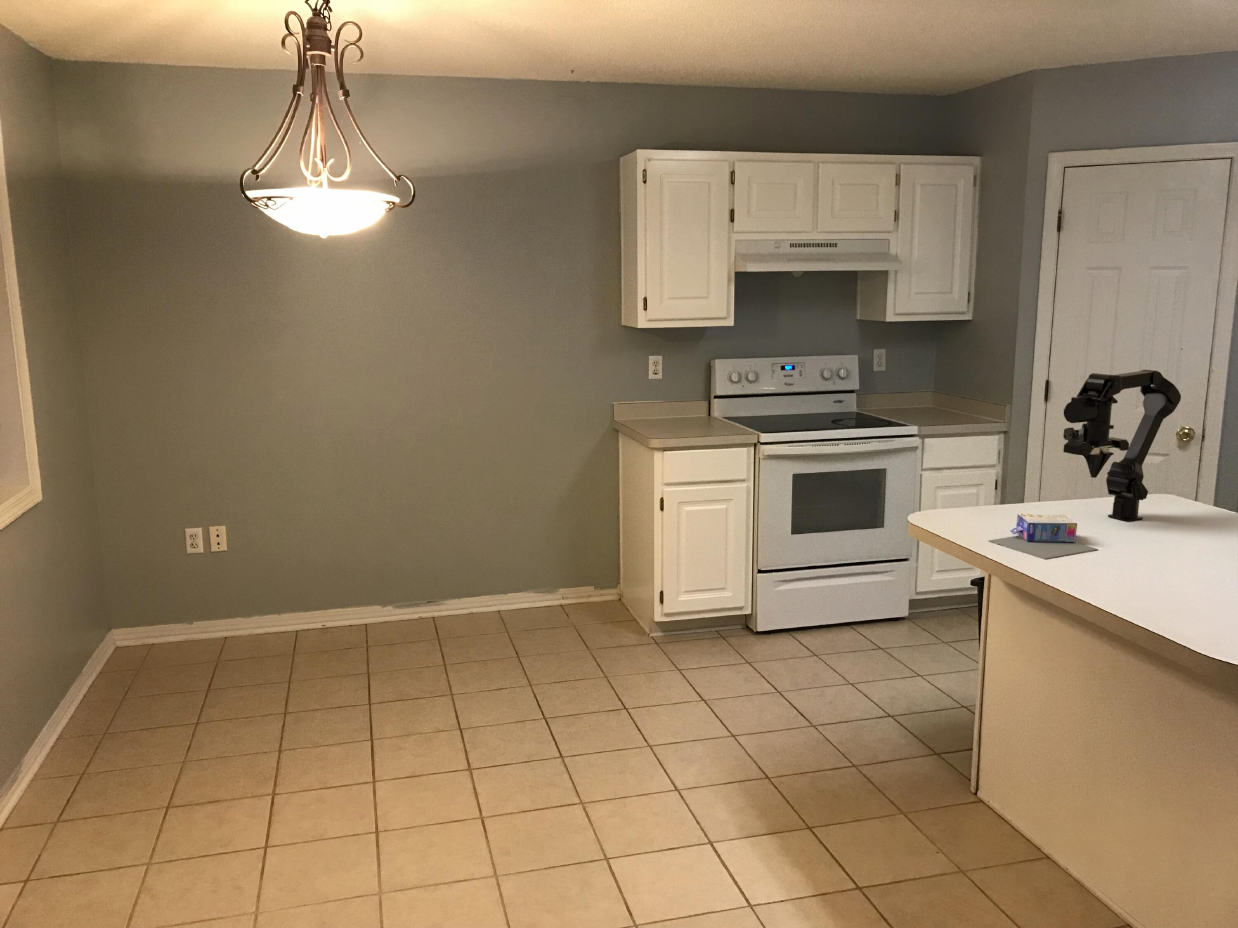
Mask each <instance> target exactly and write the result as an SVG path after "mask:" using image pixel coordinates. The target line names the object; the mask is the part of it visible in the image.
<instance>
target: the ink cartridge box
mask: <svg viewBox="0 0 1238 928" xmlns="http://www.w3.org/2000/svg"><path fill="white" fill-rule="evenodd" d="M1016 517H1017V518H1016V526H1015V527H1014V528H1012V529H1011V530H1009V532H1010V533H1012V535H1015V534H1018V536H1019V535H1020V536H1021V537H1023V538H1024V539H1025V540H1026V541H1037V542H1075V543H1076V537H1077V529H1078V523H1077V522H1076V521H1075V520H1073V518H1070V517H1069V516H1068V515H1066V514H1052V513H1051V514H1046V513H1043V514H1042V513H1017V516H1016Z"/></svg>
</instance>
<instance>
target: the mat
mask: <svg viewBox="0 0 1238 928" xmlns="http://www.w3.org/2000/svg"><path fill="white" fill-rule="evenodd" d="M988 542H989V543H992V542H993V543H992V544H995V543H996V545H998V544H1000V545H999V546H1001V545H1002V546H1001V547H1004V546H1006V547H1005V548H1008V549H1011V550H1015V551H1017V552H1020V551H1021V553H1024V554H1026V553H1027V554H1026V555H1030V556H1033V557H1037V558H1040V559H1043V560H1049V559H1050V560H1051V559H1055V558H1060V557H1066V556H1067V557H1068V556H1073V555H1078V554H1083V553H1089V552H1096V551H1098V550H1099V549H1098V548H1097V547H1093V546H1089V545H1085V544H1081V543H1078V542H1076V541H1075V542H1037V541H1026V540H1025V539H1024V538H1023V537H1021V536H1020V535H1019V534H1018V535H1014V536H1008V537H1001V538H995V539H989V540H988Z"/></svg>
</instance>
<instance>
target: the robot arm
mask: <svg viewBox="0 0 1238 928" xmlns="http://www.w3.org/2000/svg"><path fill="white" fill-rule="evenodd" d="M1139 387H1140V389H1139V390H1140V393H1141V395H1142V396H1143V397H1144V398H1143V401H1142V407H1143V410H1144V413H1143V416H1142V418H1141V420H1140V422H1139V424H1138V426H1137V427H1136V430H1135V432H1134V435H1133V437H1132V439H1131V442H1130V443H1129V441H1128V440H1127V438H1126V439H1125V438H1118V437H1114V436H1111V437H1110V432H1111V431H1110V430H1114V429H1115V426H1114V424H1111V418H1112V407H1113V404H1115V405H1116V404H1118V400H1117V399H1116V398H1115V395H1118V394H1120V393H1121V392H1122V391H1123V390H1127V389H1128V390H1129V389H1134V388H1139ZM1070 399H1071V400H1070V401H1069V402H1068V403H1067V404H1066V405H1065V407H1064V408H1063V417H1064V418H1065V420H1066V422H1068V423H1070V424H1078V423H1079V424H1080V423H1082V425H1081V428H1080V429H1075V428H1074V427H1065V428H1064V429H1063V434H1062V436H1063V439H1064V440H1065V441H1066V442H1065V443H1064V444H1063V453H1066V454H1071V455H1076V456H1083V457H1084V459H1085V462H1086V464H1087V467H1088V472H1089V474H1090V478H1092V479H1093V478H1094V479H1095V478H1097V477H1098V475H1099V474H1100V472H1101V471H1102V469H1103V468H1104V466H1105V465H1106V463H1107V462H1108V461H1109V459H1110V458H1111V457H1112V456H1114V454H1115V453H1114V452H1111V451H1110V449H1113V448H1115V449H1118V450H1119V451H1122V452H1123V451H1126V452H1125V454H1124V457H1123V458H1122V459H1121V460H1120V461H1119V462H1117V461H1113V462H1112V463H1111V465H1110V468H1109V470H1108V472H1107V473H1106V475H1107V476H1106V478H1105V481H1106V483H1105V484H1106V488H1107V493H1108V495H1110V496H1114V498H1113V503H1112V513H1111V514H1107V518H1108V517H1109V518H1113V519H1117V520H1120V521H1124V522H1132V521H1138V520H1143V518H1144V517H1143V516H1139V508H1140V501H1144V500H1146V499H1147V497H1148V494H1149V490H1148V489H1147V487H1146V486H1145V485H1144V483H1143V480H1144V476H1145V475H1144V470H1143V464H1144V462H1145V461H1146V458H1147V456H1148V453H1149V451H1150V449H1151V447H1152V445H1153V443H1154V440H1155V438H1156V436H1157V434H1158V432H1159V430H1160V427H1161V425H1162V424H1163V422H1164V420H1165V419H1166V418H1167V417H1169V416H1170V415H1172V414H1173V413H1174V412H1175V410H1176V409H1177V407H1178V406H1179V404H1180V402H1181V401H1182V396H1181V393H1180V391H1179V388H1177V386H1176V385H1175V384H1174V383H1172V382H1171V381H1170V380H1169V379H1167V378H1165V377H1164V376H1163V374H1162V373H1161V371H1158V370H1150V369H1141V370H1138V371H1131V372H1124V373H1118V374H1104V373H1099V372H1098V373H1096V372H1093V373H1090V374H1089V375H1088V377H1087V379H1086V380H1085V381H1084V383H1083V385H1082V386H1081V388H1080V389H1079V391H1078V393H1077V395H1076V396H1072V397H1071V398H1070Z"/></svg>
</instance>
